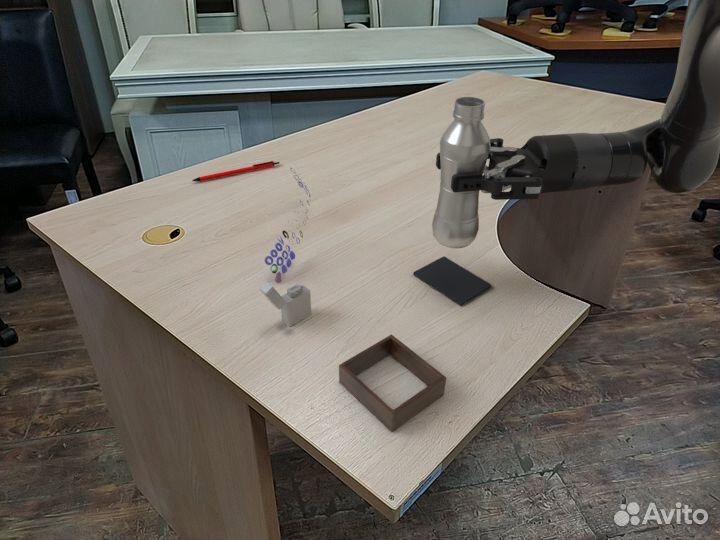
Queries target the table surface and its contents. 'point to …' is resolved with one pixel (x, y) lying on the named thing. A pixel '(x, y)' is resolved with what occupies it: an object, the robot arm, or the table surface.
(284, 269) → the ring set
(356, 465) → the table surface
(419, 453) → the table surface
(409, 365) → the bottle stand
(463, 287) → the mat
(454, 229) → the silver metal bottle
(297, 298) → the lighter
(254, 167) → the pen
